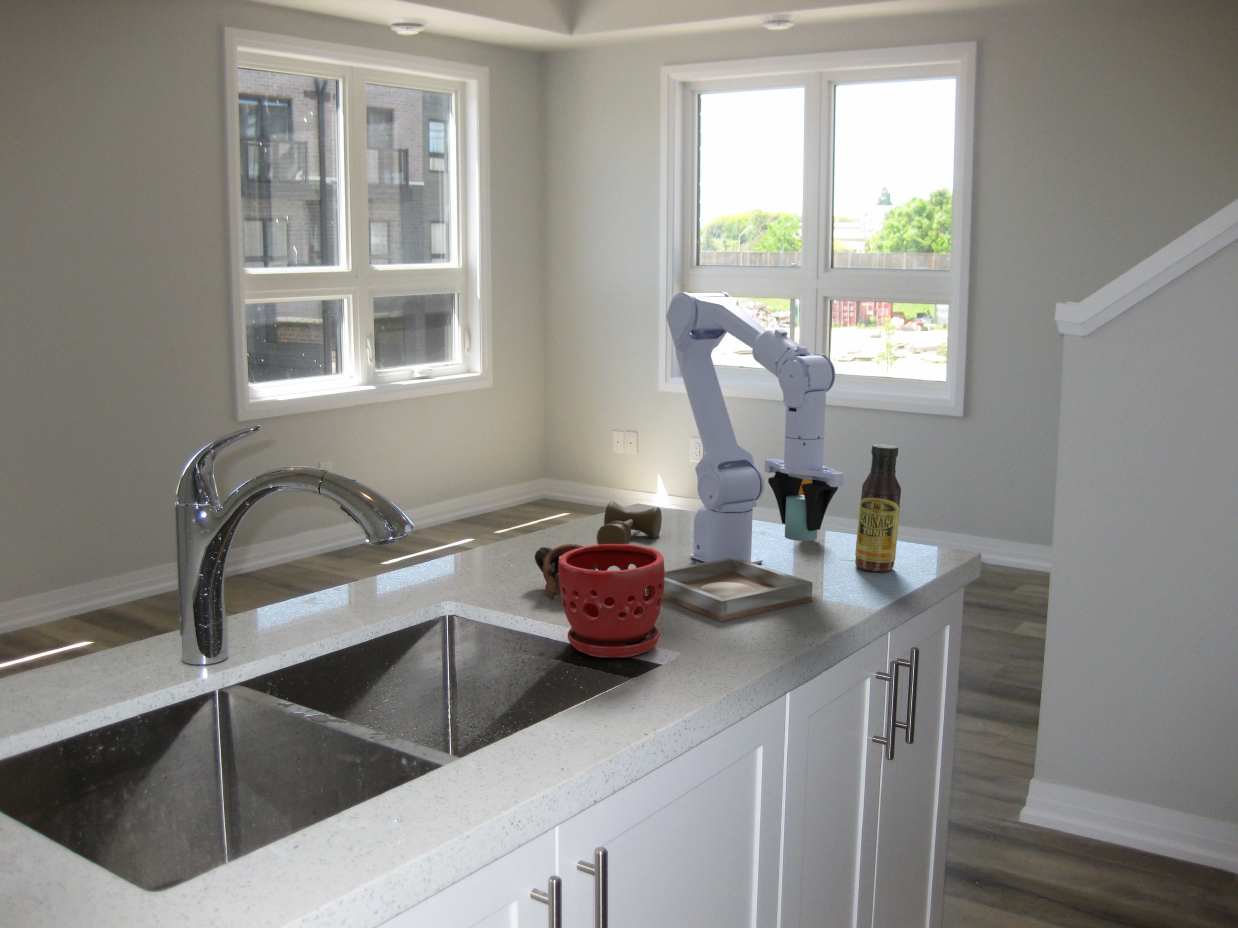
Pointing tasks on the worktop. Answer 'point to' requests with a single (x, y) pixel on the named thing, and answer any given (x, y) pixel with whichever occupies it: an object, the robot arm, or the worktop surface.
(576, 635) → the plant pot
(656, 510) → the kendama
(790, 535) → the teal cylinder
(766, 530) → the worktop surface
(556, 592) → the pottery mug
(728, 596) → the corral
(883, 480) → the sauce bottle
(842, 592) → the worktop surface
